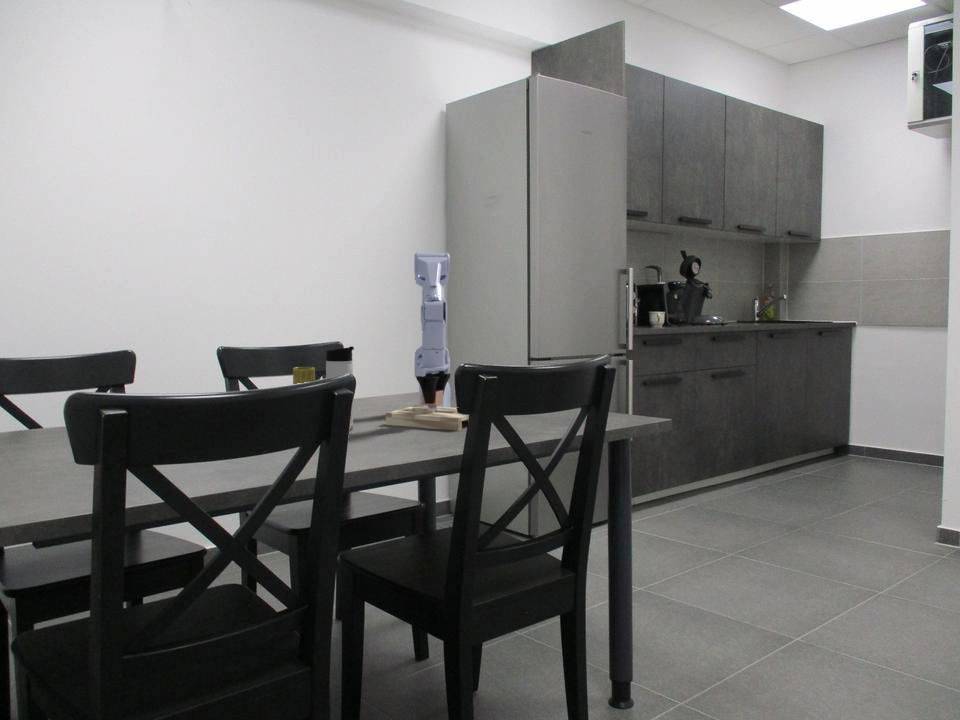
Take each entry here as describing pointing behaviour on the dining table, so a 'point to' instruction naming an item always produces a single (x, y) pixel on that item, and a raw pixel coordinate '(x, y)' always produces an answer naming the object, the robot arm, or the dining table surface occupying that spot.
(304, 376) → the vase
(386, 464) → the dining table surface
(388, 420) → the keyhole plate
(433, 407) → the keyhole peg
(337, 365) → the travel mug
